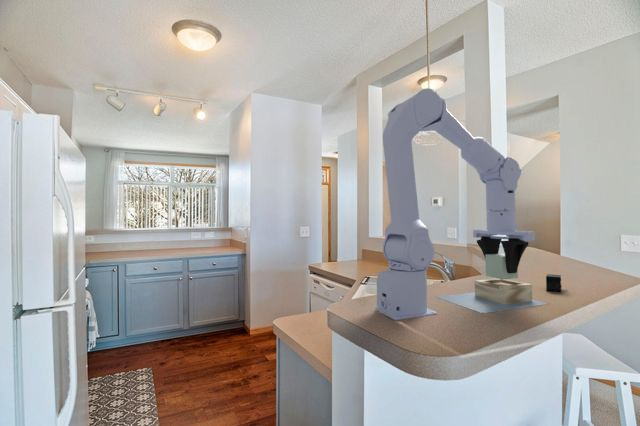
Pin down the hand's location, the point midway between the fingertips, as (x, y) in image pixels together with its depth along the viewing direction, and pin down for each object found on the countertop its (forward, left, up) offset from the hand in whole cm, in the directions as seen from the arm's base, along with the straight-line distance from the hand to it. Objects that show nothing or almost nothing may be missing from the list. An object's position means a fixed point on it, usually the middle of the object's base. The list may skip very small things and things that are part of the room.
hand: (502, 271), depth 73 cm
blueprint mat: (-4, 0, -7) cm, 8 cm away
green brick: (0, 0, -1) cm, 1 cm away
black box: (+18, +1, -7) cm, 20 cm away
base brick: (0, 0, -6) cm, 6 cm away
